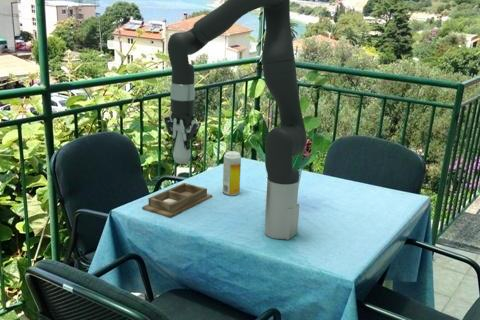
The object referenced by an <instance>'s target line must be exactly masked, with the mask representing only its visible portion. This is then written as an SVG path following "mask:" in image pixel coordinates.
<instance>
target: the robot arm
mask: <svg viewBox="0 0 480 320" xmlns="http://www.w3.org/2000/svg"><path fill="white" fill-rule="evenodd" d="M290 4H291V3H290V0H226V1H224V2H223V3H222V4H221V5H219V6H218V7H216V8H214V9H213V10H212V11H210V12H209V13H206V15H204V16H203V17H201V18H199V19H198V20H196V22H195V23H194V24H193V27H192V28H190V29H189V30H186V31H182V32H181V31H179V32H175V33H172V34H171V35H170V37H169V38H168V41H167V53H168V58H169V63H170V67H171V85H170V113H171V114H170V115H169V116H165V117H164V118H163V120H164V123H165V127H166V130H167V133H168V135H169V136H172V138H173V148H174V147H175V142H176V138H177V133H178V131H177V130H176V125H177V124H180V125H181V128H182V129H181V131H182V134H183V139H184V140H183V142H184V148H185V146H186V150H189V149H190V150H191V140H194V139H196V137H197V135H198V133H199V131H200V128H201V126H202V125H201V122H197V121H196V120H195V117H194V113H195V102H196V101H195V100H196V99H195V96H196V95H195V94H196V92H195V91H196V90H195V89H196V88H195V67H194V65H193V64H191V63H190V61H189V56H191V55H193V54H196V53H197V52H199V51H200V50H202V49H203V48H204V47H205V46H207V44H208V43H209V42H211V41H213V40H215V39H216V38H218V37H220V36H221V35H223V34H225V33H226V32H227V31H228V30H229V29H230V28H232V27H233V25H235V23H237V21H238V20H239V19H241V18H242V17H244V16H245V15H246V14H248V13H250V12H252V11H255V10H257V9H260V8H263V14H264V20H265V36H264V41H263V46H262V51H261V59H262V60H261V62H262V63H261V65H262V72H263V80H264V82H265V85H266V87H267V89H268V91H269V93H270V95H271V96H272V98H273V99H274V101H275V103H276V105H277V108H278V109H277V110H278V112H279V119H280V126H278V127H274V128H272V129H271V130H269V132H268V133H267V135H266V139H265V148H264V149H265V150H264V151H265V153H264V155H265V156H264V159H265V160H264V162H265V165H264V166H265V171H266V173H267V177H266V178H267V179H266V193H265V195H266V197H265V213H264V233H265V235H266V236H267V237H269V238H273V239H278V240H287V241H289V240H290V239H292V238H293V237H294V236H296V235H297V234H298V232H299V231H298V229H299V217H300V215H299V214H300V204H299V203H298V197H299V196H298V194H299V182H300V172H299V169H297V168H296V167H293V157H295V156H297V155H299V154H301V153H303V152H304V151H305V148H306V146H307V142H308V140H307V139H308V138H307V137H308V135H307V131H306V127H305V123H304V117H303V114H302V113H303V112H302V108H301V107H302V106H301V102H300V94H299V87H298V77H297V67H296V58H295V57H296V56H295V51H294V43H293V34H292V27H291V16H290V13H291V12H290V11H291V10H290ZM188 128H189V130H187V131H186V130H185V129H188Z"/></svg>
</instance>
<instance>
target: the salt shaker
mask: <svg viewBox="0 0 480 320" xmlns="http://www.w3.org/2000/svg"><path fill="white" fill-rule="evenodd" d="M181 129H182V128H181V125H180V124H177V125H176V130H177V131H178V133H177V138H176V142H175V147H174V146H173V150H172V151H173V152H172V156H173V159H174V162H175V163H176V164H179V165H181V164H182V165H184V164H188V163H189V161H190V160H191V157H192V153H191V148H190V149H189V150H186V146H185V148H184V142H183V140H184V139H183V134H182V131H181ZM185 130H186V131H187V130H189V128H188V129H185Z"/></svg>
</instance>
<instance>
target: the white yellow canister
mask: <svg viewBox="0 0 480 320" xmlns="http://www.w3.org/2000/svg"><path fill="white" fill-rule="evenodd" d="M241 163H242V156H241V153H240V152H238V151H234V150H233V151H231V150H230V151H226V152H224V155H223V171H222V172H223V173H222V178H223V179H222V192H223V193H224V195H226V196H231V197H232V196H236V195H238V194H239V193H240V187H241V167H242V166H241Z"/></svg>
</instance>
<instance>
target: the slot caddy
mask: <svg viewBox="0 0 480 320" xmlns="http://www.w3.org/2000/svg"><path fill="white" fill-rule="evenodd" d="M211 198H213V194H210V193H208V188H206V187H201V186H197V185H196V184H195V185H194V184H191V183H186V182H182V183H181V184H178V185H176V186H173V187H171V188H169V189H167V190H164V191H162V192H160V193H157V194H155V195H152V196H151V197H148V199H147V200H148V201H147V202H148V203H147V204H146V205H144V206H141V209H142V210H144V211H147V212H148V213H149V212H150V213H152V214H156V215H159V216H162V217H165V218H169V219H172V218H174V217H176V216H178V215H180V214H182V213H184V212H186V211H188V210H190V209H192V208H194V207H195V206H198V205H200V204H202V203H204V202H206V201H208V200H209V199H211Z"/></svg>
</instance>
